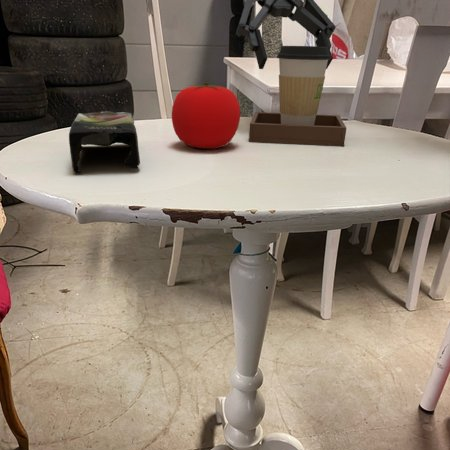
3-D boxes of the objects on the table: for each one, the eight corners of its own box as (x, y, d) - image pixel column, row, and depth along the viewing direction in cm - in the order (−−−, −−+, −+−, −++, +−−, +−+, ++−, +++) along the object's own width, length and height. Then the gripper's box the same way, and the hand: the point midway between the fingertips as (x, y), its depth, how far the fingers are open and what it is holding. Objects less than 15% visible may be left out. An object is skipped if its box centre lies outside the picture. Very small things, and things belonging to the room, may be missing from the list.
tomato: (171, 153, 78) (168, 85, 73) (174, 139, 88) (172, 78, 83) (242, 154, 79) (244, 86, 74) (237, 140, 89) (238, 79, 84)
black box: (78, 144, 82) (73, 107, 79) (134, 143, 84) (132, 107, 81) (70, 176, 65) (64, 130, 62) (141, 174, 67) (139, 130, 64)
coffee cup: (331, 132, 93) (342, 47, 86) (301, 139, 87) (310, 47, 80) (292, 125, 99) (299, 45, 92) (261, 131, 93) (266, 45, 86)
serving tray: (337, 131, 99) (339, 115, 97) (343, 146, 86) (346, 127, 85) (254, 128, 100) (255, 111, 99) (248, 141, 88) (249, 123, 86)
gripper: (318, -6, 101) (344, 77, 96) (207, -11, 94) (229, 78, 89) (334, -39, 94) (363, 49, 89) (215, -47, 87) (240, 47, 82)
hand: (296, 64), depth 89 cm, fingers open, 13 cm apart
